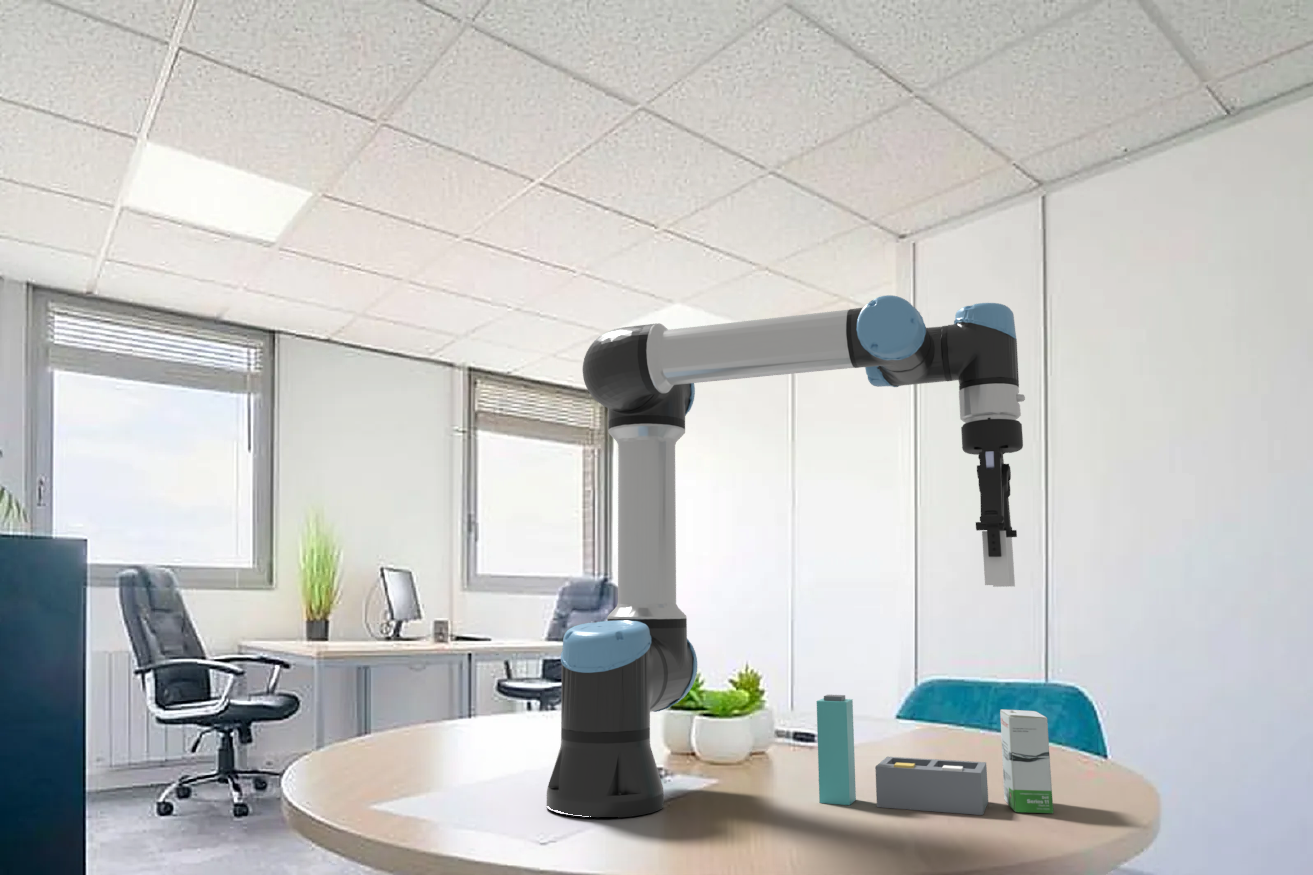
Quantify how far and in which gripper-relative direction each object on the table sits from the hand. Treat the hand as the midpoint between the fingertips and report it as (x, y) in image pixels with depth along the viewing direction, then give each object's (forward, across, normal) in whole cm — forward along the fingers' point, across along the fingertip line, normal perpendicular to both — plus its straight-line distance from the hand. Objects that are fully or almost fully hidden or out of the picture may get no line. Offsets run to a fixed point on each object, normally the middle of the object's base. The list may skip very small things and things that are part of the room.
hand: (1000, 586), depth 125 cm
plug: (+28, +2, +22) cm, 36 cm away
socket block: (+28, +4, +10) cm, 30 cm away
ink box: (+28, +7, -1) cm, 29 cm away
